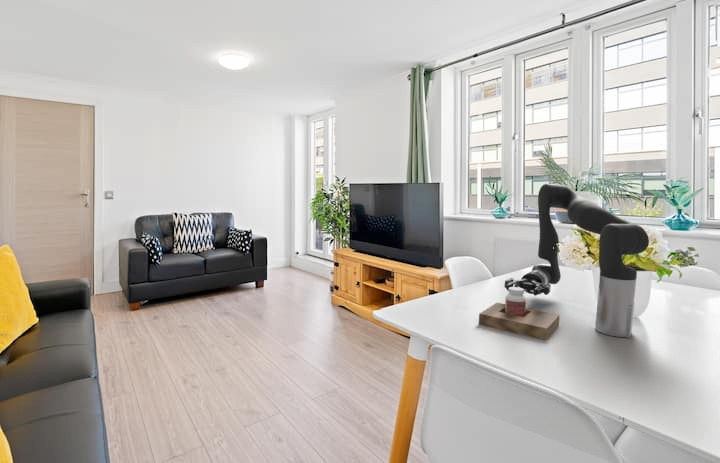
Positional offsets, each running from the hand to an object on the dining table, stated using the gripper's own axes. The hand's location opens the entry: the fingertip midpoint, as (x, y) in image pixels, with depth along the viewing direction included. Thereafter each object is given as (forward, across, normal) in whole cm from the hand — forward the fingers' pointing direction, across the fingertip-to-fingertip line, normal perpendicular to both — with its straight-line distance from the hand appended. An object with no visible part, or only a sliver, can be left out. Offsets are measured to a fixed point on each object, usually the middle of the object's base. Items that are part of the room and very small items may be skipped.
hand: (521, 290), depth 130 cm
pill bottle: (+5, 0, +10) cm, 11 cm away
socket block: (+8, +2, +9) cm, 12 cm away
